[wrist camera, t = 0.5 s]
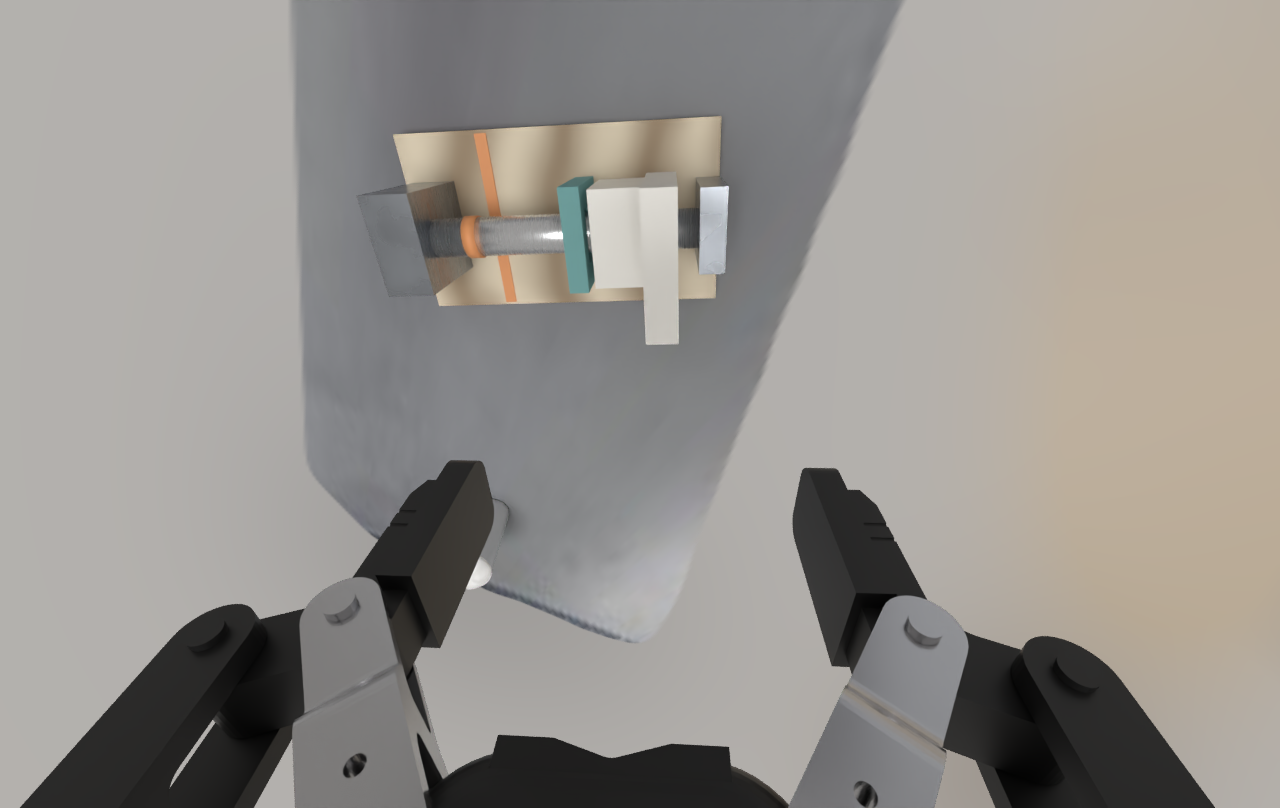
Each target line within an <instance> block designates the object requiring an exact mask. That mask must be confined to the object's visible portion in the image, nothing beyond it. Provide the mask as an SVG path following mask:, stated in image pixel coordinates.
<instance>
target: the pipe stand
mask: <svg viewBox="0 0 1280 808" xmlns="http://www.w3.org/2000/svg"><path fill="white" fill-rule="evenodd" d="M393 137H394V140H395V144H396V148H397V151H398V155H399V159H400V162H401V166H402V170H403V174H404V177H405V181H406V185H402V186H398V187H393V188H389V189H385V190H380V191H376V192H372V193H367V194H363V195H359V196H357V199H358V202H359V205H360V208H361V211H362V214H363V217H364V220H365V224H366V227H367V230H368V233H369V236H370V239H371V242H372V245H373V248H374V251H375V254H376V257H377V261H378V264H379V267H380V270H381V273H382V276H383V279H384V282H385V285H386V288H387V291H388V295H389V297H398V296H431V295H435V294H436V295H437V299H438V302H439V306H457V305H492V304H526V303H561V302H596V301H630V300H644V291H643V287H635V288H603V289H596V287H595V282H594V284H593V286H592V288H591V290H590V292H589V293H575V294H570V291H569V283H568V275H567V267H566V259H565V251H564V243H563V235H562V227H561V219H560V211H559V203H558V195H557V187H558V186H560V185H562V184H564V183H566V182H567V181H569V180H571V179H573V178H574V177H586V176H593V179H594V183H595V182H597V181H598V180H599V179H620V178H641V177H645V175H646V173H653V172H674V171H676V176H677V185H678V299H699V298H715V295H716V274H725V261H726V237H727V214H728V190H729V186H728V185H727V184H726V183H725V182H724V181H723V180H722V178H721V177H720V176H719V175H720V144H721V116H714V117H697V118H679V119H661V120H644V121H626V122H608V123H590V124H573V125H555V126H537V127H520V128H502V129H484V130H466V131H449V132H431V133H413V134H396V135H393ZM585 218H586V228H587V238H588V248H589V252H592V246H591V235H590V225H589V215H588V212H585Z"/></svg>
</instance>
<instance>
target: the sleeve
mask: <svg viewBox="0 0 1280 808" xmlns="http://www.w3.org/2000/svg"><path fill="white" fill-rule="evenodd" d="M586 194H587V204H588V215H589V225H590V235H591V246H592V256H593V266H594V276H595V287H596V289H603V288H635V287H643V291H644V314H645V336H646V345H662V344H679V304H678V185H677V176H676V171H674V172H653V173H646V175H645V177H641V178H620V179H599V180H598V181H597V182H595V183H594V184H593V185H591V186H590V187H589V188H588V189H586Z"/></svg>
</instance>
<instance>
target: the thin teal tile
mask: <svg viewBox="0 0 1280 808" xmlns="http://www.w3.org/2000/svg"><path fill="white" fill-rule="evenodd" d="M593 184H594V179H593V176H586V177H574V178H573V179H571V180H569V181H567V182H566V183H564V184H562V185H560V186H558V187H557V195H558V203H559V211H560V219H561V227H562V235H563V243H564V251H565V259H566V267H567V275H568V283H569V291H570V294H575V293H589V292H590V290H591V288H592V286H593V284H594V282H595V276H594V266H593V256H592V252H589V248H588V238H587V228H586V218H585V212H588V204H587V194H586V189H588V188H589V187H590V186H591V185H593Z"/></svg>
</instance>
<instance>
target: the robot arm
mask: <svg viewBox="0 0 1280 808" xmlns="http://www.w3.org/2000/svg"><path fill="white" fill-rule="evenodd" d="M493 521H494V505H493V500H492V496H491V492H490V488H489V484H488V480H487V475H486V471H485V467H484V465H483V463H482V462H481V461H463V460H451V461H449V462H448V463H447V464H446V466H445V467H444V469H443V470H442V472H441V473H440V475H439V476H438V478H437V480H427V481H426V482H425V483H424V484H422V485H421V486H420V487H418V488H417V489H416V490H415V491H413V492H412V493H411V494H410V495H409V497H408V498H407V499H406V501H405V502H404V504H403V505H402V507H401V508H400V511H399V513H397V514H396V515H395V517H394V518H393V520H392V521H391V523H390V527H387V528H386V530H385V531H384V533H383V534H382V536H381V537H380V539H379V540H378V542H377V543H376V544H375V546H374V547H373V549H372V550H371V552H370V553H369V555H368V556H367V558H366V559H365V560H364V562H363V563H362V565H361V566H360V568H359V569H358V571H357V572H356V574H355V575H354V576H353V578H349V579H345V580H342V581H340V582H337V583H335V584H333V585H331V586H329V587H328V588H326V589H324V590H323V591H322V592H320V593H319V594H318V595H317V596H315V597H314V598H313V599H312V600H311V601H310V603H309V604H308V605H307V607H306V608H305V609H302V610H297V611H293V612H289V613H285V614H280V615H277V616H272V617H268V618H264V619H259V618H258V617H257V615H256V614H255V612H254V611H253V610H252V609H251V608H250V607H249V606H246V605H243V604H232V605H227V606H222V607H219V608H216V609H213V610H211V611H208V612H206V613H204V614H202V615H200V616H199V617H197V618H195V619H194V620H192V621H191V622H189V623H188V624H187V625H185V626H184V627H183V628H182V629H180V630H179V631H178V632H177V633H176V634H175V635H174V636H173V637H172V638H171V639H170V640H169V642H168V643H167V644H166V645H165V646H164V647H163V648H162V649H161V650H160V652H159V653H158V654H157V655H156V656H155V657H154V658H153V659H152V661H151V662H150V663H149V664H148V665H147V666H146V667H145V668H144V669H143V671H142V672H141V673H140V674H139V675H138V676H137V677H136V678H135V680H134V681H133V682H132V683H131V684H130V685H129V686H128V687H127V689H126V690H125V691H124V692H123V693H122V694H121V695H120V696H119V697H118V699H117V700H116V701H115V702H114V703H113V704H112V705H111V706H110V708H109V709H108V710H107V711H106V712H105V713H104V714H103V715H102V717H101V718H100V719H99V720H98V721H97V722H96V723H95V725H94V726H93V727H92V728H91V729H90V730H89V731H88V732H87V733H86V734H85V736H84V737H83V738H82V739H81V740H80V741H79V742H78V743H77V745H76V746H75V747H74V748H73V749H72V750H71V751H70V752H69V753H68V755H67V756H66V757H65V758H64V759H63V760H62V761H61V762H60V764H59V765H58V766H57V767H56V768H55V769H54V770H53V771H52V772H51V774H50V775H49V776H48V777H47V778H46V779H45V780H44V782H42V784H41V785H40V786H39V787H38V788H37V789H36V790H35V791H34V793H33V794H32V795H31V796H30V797H29V798H28V799H27V800H26V802H25V803H24V804H23V805H22V806H21V807H20V808H254V806H255V804H256V803H257V801H258V799H259V797H260V795H261V794H262V792H263V790H264V788H265V786H266V784H267V783H268V781H269V779H270V777H271V776H272V774H273V772H274V770H275V768H276V767H277V765H278V763H279V761H280V759H281V758H282V755H283V754H284V752H285V750H286V749H287V747H288V745H289V743H290V741H291V739H292V743H293V767H294V791H295V792H294V793H295V808H934V806H935V802H936V798H937V795H938V791H939V787H940V783H941V779H942V775H943V771H944V767H945V762H946V750H944V749H943V748H945V749H947V750H950V751H953V752H955V753H958V754H961V755H963V756H966V757H969V758H971V759H973V760H976V762H977V765H978V767H979V770H980V772H981V774H982V777H983V779H984V781H985V784H986V786H987V789H988V791H989V793H990V796H991V798H992V800H993V803H994V805H995V808H1215V807H1214V806H1213V804H1212V803H1211V801H1210V800H1209V799H1208V798H1207V796H1206V795H1205V794H1204V792H1203V791H1202V790H1201V788H1200V787H1199V785H1198V784H1197V783H1196V781H1195V780H1194V779H1193V777H1192V776H1191V774H1190V773H1189V772H1188V770H1187V769H1186V768H1185V766H1184V765H1183V764H1182V762H1181V761H1180V760H1179V758H1178V757H1177V755H1176V754H1175V753H1174V752H1173V750H1172V749H1171V747H1170V746H1169V745H1168V743H1167V742H1166V741H1165V739H1164V738H1163V737H1162V735H1161V734H1160V732H1159V731H1158V730H1157V728H1156V727H1155V726H1154V724H1153V723H1152V722H1151V720H1150V719H1149V718H1148V716H1147V715H1146V713H1145V712H1144V711H1143V709H1142V708H1141V707H1140V706H1139V704H1138V703H1137V701H1136V700H1135V699H1134V697H1133V696H1132V695H1131V693H1130V692H1129V691H1128V689H1127V688H1126V687H1125V685H1124V684H1123V682H1122V681H1121V680H1120V679H1119V677H1118V676H1117V675H1116V674H1115V673H1114V671H1113V670H1112V669H1110V668H1109V667H1108V666H1107V665H1106V664H1105V663H1104V662H1103V661H1101V660H1100V659H1099V658H1098V657H1096V656H1094V655H1093V654H1092V653H1090V652H1089V651H1087V650H1085V649H1084V648H1082V647H1080V646H1078V645H1076V644H1074V643H1071V642H1069V641H1066V640H1063V639H1059V638H1055V637H1049V636H1040V637H1035V638H1033V639H1030V640H1029V641H1028V642H1027V643H1026V644H1025V646H1024V647H1023V648H1022V650H1020V649H1017V648H1013V647H1010V646H1007V645H1004V644H1000V643H997V642H994V641H991V640H987V639H984V638H980V637H978V636H975V635H972V634H970V633H967V632H965V631H964V630H963V629H962V627H961V626H960V624H959V623H958V622H957V621H956V619H955V618H954V617H953V616H952V615H950V614H949V613H948V612H947V611H946V610H944V609H943V608H941V607H940V606H938V605H936V604H935V603H933V602H930V601H928V600H927V599H926V597H925V595H924V593H923V591H922V590H921V588H920V586H919V584H918V582H917V580H916V578H915V576H914V575H913V573H912V571H911V569H910V567H909V565H908V563H907V561H906V560H905V558H904V556H903V554H902V552H901V550H900V548H899V546H898V544H897V542H894V537H893V535H892V533H891V531H890V530H889V528H888V527H887V526H886V522H885V520H884V518H883V516H882V514H881V512H880V511H879V509H878V507H877V505H876V504H875V503H873V502H872V501H871V500H870V499H869V498H868V497H867V496H866V495H864V494H863V493H862V492H861V491H860V490H847V488H846V485H845V483H844V481H843V479H842V477H841V475H840V473H839V471H838V470H837V469H834V468H804V469H803V470H802V473H801V477H800V482H799V487H798V492H797V497H796V502H795V507H794V512H793V534H794V539H795V542H796V546H797V549H798V553H799V556H800V560H801V563H802V567H803V570H804V573H805V576H806V580H807V583H808V587H809V590H810V594H811V597H812V600H813V604H814V607H815V611H816V614H817V617H818V621H819V624H820V628H821V631H822V634H823V638H824V641H825V644H826V648H827V651H828V655H829V658H830V662H831V665H832V666H840V667H850V670H851V673H852V676H851V678H850V680H849V682H848V684H847V686H845V688H844V689H843V691H842V694H841V695H840V698H839V700H838V702H837V704H836V706H835V708H834V710H833V712H832V715H831V717H830V719H829V721H828V723H827V725H826V727H825V730H824V732H823V734H822V736H821V738H820V740H819V742H818V745H817V747H816V749H815V751H814V753H813V755H812V757H811V760H810V762H809V764H808V766H807V768H806V771H805V772H804V775H803V777H802V779H801V781H800V783H799V785H798V788H797V790H796V792H795V794H794V796H793V798H792V800H791V803H790V805H788V804H787V803H786V801H785V800H784V799H783V798H782V797H781V796H779V795H778V794H777V793H776V792H775V791H774V790H773V789H771V788H770V787H769V786H768V785H766V784H765V783H763V782H762V781H760V780H759V779H758V778H756V777H754V776H753V775H750V774H749V773H747V772H745V771H743V770H741V769H738V768H736V767H733V766H731V763H730V752H729V747H721V746H702V745H683V744H669V745H665V746H661V747H657V748H653V749H649V750H645V751H641V752H637V753H633V754H629V755H625V756H621V757H616V758H607V757H603V756H601V755H598V754H595V753H593V752H590V751H588V750H585V749H582V748H579V747H577V746H574V745H572V744H569V743H566V742H564V741H561V740H558V739H556V738H549V737H529V736H510V735H498V737H497V741H496V744H495V748H494V752H493V754H491V755H487V756H484V757H482V758H479V759H476V760H474V761H471V762H470V763H468V764H466V765H464V766H462V767H460V768H458V769H457V770H455V771H454V772H452V773H451V774H450V775H448V772H447V769H446V766H445V763H444V761H443V758H442V755H441V753H440V750H439V747H438V744H437V741H436V737H435V734H434V730H433V727H432V723H431V719H430V716H429V712H428V708H427V705H426V701H425V697H424V694H423V690H422V686H421V683H420V680H419V675H418V672H417V668H416V666H415V663H414V661H415V660H416V657H417V655H418V653H419V651H420V649H421V647H431V648H440V647H441V645H442V642H443V640H444V637H445V636H446V633H447V631H448V629H449V626H450V624H451V622H452V619H453V617H454V615H455V612H456V610H457V608H458V606H459V603H460V601H461V599H462V596H463V594H464V592H465V589H466V587H467V585H468V582H469V580H470V578H471V576H472V573H473V571H474V569H475V566H476V564H477V562H478V559H479V557H480V555H481V553H482V550H483V548H484V546H485V543H486V541H487V539H488V536H489V534H490V532H491V529H492V526H493ZM212 720H214V721H215V722H216V723H215V724H214V725H213V727H212V729H211V730H210V731H209V733H208V734H207V736H206V737H205V739H204V740H203V741H202V743H201V744H200V746H199V747H198V748H197V750H196V751H195V753H194V754H193V756H192V757H191V759H190V760H189V761H188V763H187V764H186V766H185V767H184V769H183V770H182V771H181V773H180V774H179V776H178V777H177V779H176V780H175V782H174V783H173V784H172V786H171V787H170V785H171V781H172V779H173V777H174V775H175V773H176V771H177V770H178V768H179V767H180V765H181V764H182V762H183V761H184V759H185V758H186V757H187V755H188V754H189V752H190V751H191V749H192V748H193V747H194V745H195V744H196V742H197V741H198V739H199V738H200V737H201V735H202V734H203V732H204V731H205V730H206V728H207V727H208V725H209V724H210V722H211V721H212ZM169 788H170V789H169Z"/></svg>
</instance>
